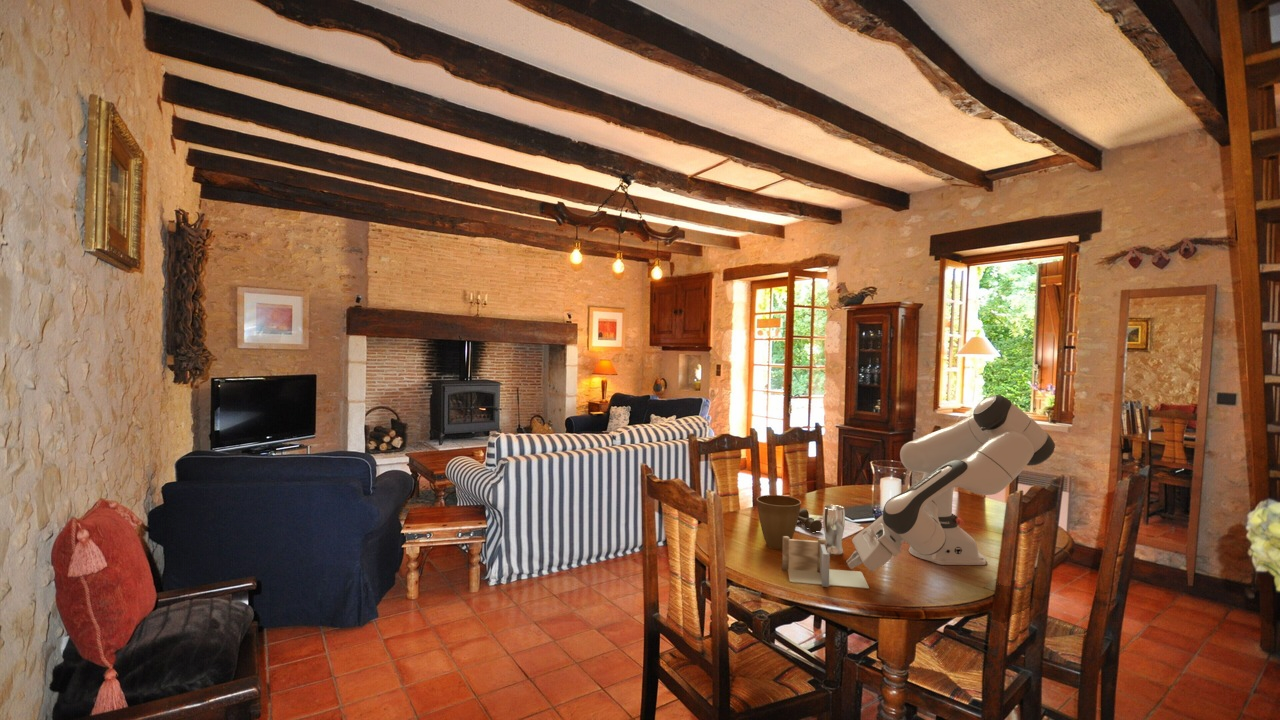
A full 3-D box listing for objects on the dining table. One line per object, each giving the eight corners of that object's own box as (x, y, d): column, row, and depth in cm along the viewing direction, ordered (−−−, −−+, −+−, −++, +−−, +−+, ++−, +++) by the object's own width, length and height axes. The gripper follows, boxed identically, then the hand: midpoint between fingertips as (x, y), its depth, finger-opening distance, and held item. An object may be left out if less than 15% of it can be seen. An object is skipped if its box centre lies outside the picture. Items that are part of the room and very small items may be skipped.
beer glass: (824, 546, 201) (824, 503, 201) (845, 550, 198) (846, 506, 198) (820, 553, 195) (821, 508, 194) (842, 556, 192) (843, 511, 191)
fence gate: (818, 572, 178) (818, 542, 177) (825, 572, 177) (825, 542, 177) (822, 586, 167) (822, 554, 167) (829, 587, 166) (829, 555, 166)
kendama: (805, 536, 214) (775, 519, 232) (827, 534, 217) (795, 517, 236) (806, 520, 213) (775, 504, 232) (828, 518, 217) (796, 502, 236)
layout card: (861, 572, 179) (861, 571, 179) (869, 588, 167) (869, 587, 167) (787, 566, 183) (787, 565, 183) (789, 582, 171) (789, 581, 171)
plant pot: (797, 556, 192) (797, 507, 192) (752, 549, 198) (752, 502, 197) (803, 542, 206) (803, 497, 205) (760, 536, 212) (761, 492, 211)
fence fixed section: (824, 570, 180) (825, 538, 180) (825, 573, 177) (826, 541, 177) (782, 567, 182) (782, 535, 182) (782, 570, 180) (782, 538, 180)
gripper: (869, 515, 179) (835, 545, 181) (884, 537, 159) (846, 570, 161) (885, 531, 178) (850, 560, 180) (901, 555, 158) (862, 588, 160)
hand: (848, 565), depth 170 cm, fingers closed
